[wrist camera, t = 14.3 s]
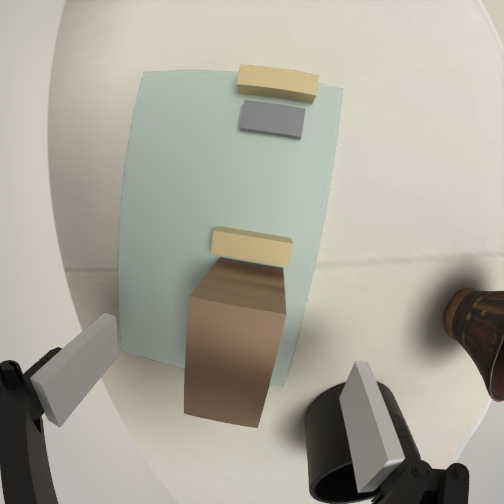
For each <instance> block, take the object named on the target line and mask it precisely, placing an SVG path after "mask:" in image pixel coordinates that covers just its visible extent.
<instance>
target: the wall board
mask: <svg viewBox="0 0 504 504" xmlns="http://www.w3.org/2000/svg"><path fill="white" fill-rule="evenodd" d="M318 80H319V75H315V74H310V73H304V72H299V71H293V70H286V69H279V68H271V67H263V66H253V65H241V64H240V69H239V72H230V71H208V70H175V71H152V72H143V76H142V80H141V84H140V88H139V92H138V97H137V101H136V106H135V111H134V115H133V121H132V126H131V131H130V137H129V143H128V149H127V156H126V163H125V171H124V179H123V188H122V198H121V210H120V225H119V248H118V299H119V322H120V336H121V348H122V351H125V352H128V353H131V354H134V355H138V356H141V357H144V358H148V359H151V360H154V361H158V362H161V363H165V364H169V365H172V366H176V367H180V368H184V369H185V353H186V333H187V317H188V303H189V296H190V295H191V293H192V292H193V291H194V289H195V288H196V287H197V286H198V284H199V283H200V282H201V280H202V279H203V278H204V277H205V275H206V274H207V273H208V272H209V270H210V269H211V268H212V267H213V265H214V264H215V263H216V261H217V260H218V259H219V258H220V257H224V258H230V259H235V260H241V261H247V262H253V263H259V264H264V265H270V266H276V267H282V268H283V271H284V285H285V299H286V318H285V323H284V327H283V332H282V336H281V340H280V344H279V348H278V353H277V357H276V361H275V365H274V369H273V373H272V377H271V380H270V384H269V385H272V386H279V387H284V384H285V381H286V378H287V374H288V371H289V367H290V364H291V360H292V357H293V353H294V349H295V346H296V342H297V338H298V334H299V331H300V327H301V323H302V319H303V315H304V311H305V307H306V303H307V298H308V294H309V290H310V286H311V281H312V277H313V272H314V268H315V263H316V258H317V254H318V249H319V244H320V239H321V234H322V229H323V224H324V218H325V213H326V207H327V202H328V196H329V190H330V184H331V178H332V172H333V165H334V159H335V152H336V145H337V137H338V130H339V122H340V113H341V104H342V95H343V89H342V88H338V87H334V86H329V85H325V84H320V83H318Z"/></svg>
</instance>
